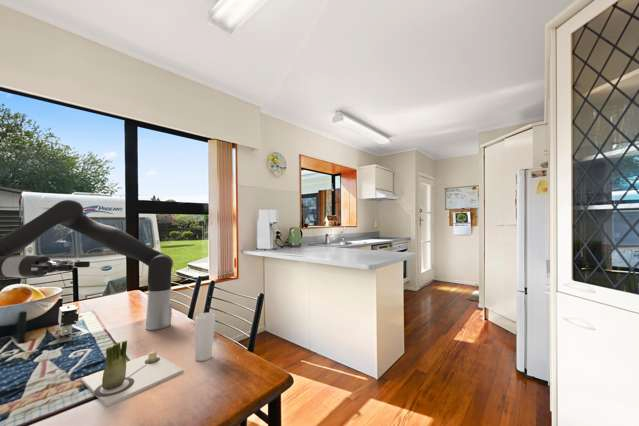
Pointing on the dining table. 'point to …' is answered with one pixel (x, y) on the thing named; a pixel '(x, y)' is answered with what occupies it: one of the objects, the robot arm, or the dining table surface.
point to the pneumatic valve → (67, 318)
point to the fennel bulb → (115, 366)
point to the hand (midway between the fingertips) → (81, 265)
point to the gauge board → (133, 378)
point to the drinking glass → (204, 335)
